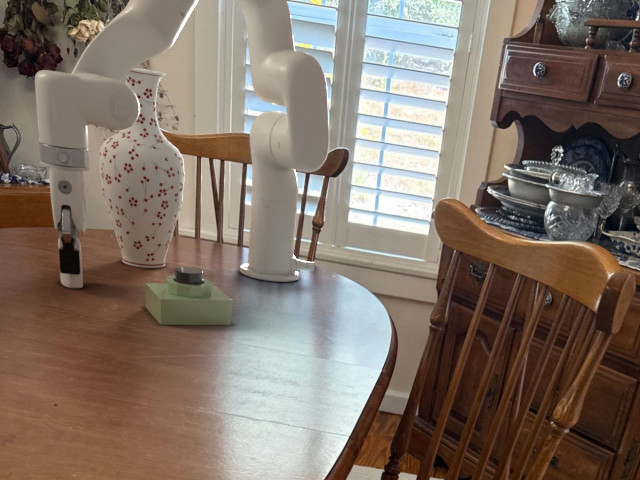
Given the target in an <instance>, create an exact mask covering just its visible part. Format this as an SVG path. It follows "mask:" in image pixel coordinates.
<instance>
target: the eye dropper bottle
mask: <svg viewBox="0 0 640 480" xmlns="http://www.w3.org/2000/svg"><path fill="white" fill-rule="evenodd" d="M62 230H63V227H62ZM71 231H74V228H71ZM73 243H74V242H73ZM57 244H58V245H57V246H58V250H59V249H60V239H59V238H58V239H57ZM77 250H79V258H80V274H79V275H76V274H63V273H61V272H60V271H59V272H60V273H59V275H60V277H59V278H60V284H62V286H63V287H66V288H68V289H82V288H83V287H84V276H83V275H84V272H83V256H82V254H83V253H82V243H81V241H80V238H79V239H78V238H77ZM59 263H60V261H59Z"/></svg>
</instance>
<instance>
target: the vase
mask: <svg viewBox="0 0 640 480" xmlns="http://www.w3.org/2000/svg"><path fill="white" fill-rule="evenodd" d="M165 76H167V73H166V72H163V71H158V70H153V69H147V68H141V67H134V68H133V69H132V70H131V71H130V72H129V73H128V74H127V75H126V76H125V77H124V78H123V79H124V84H126V85H127V86H128V87H130V88H131V89H132V90H133V92H134V93H135V95H136V96H137V99H138V101H139V106H140V113H139V117H138V119H137V121H136V122H135V123H134V124H133V125H132V126H131V127H129V128H127V129H124V130H118V131H117V132H116V133H115V134H112V135H111V136H110V137H108V138H107V139H105V140H104V142H103V143H102V145H101V146H100V148H99V156H98V157H99V159H98V169H99V179H100V185H101V194H102V198H103V201H104V204H105V207H106V211H107V213H108V216H109V219H110V223H111V225H112V229H113V231H114V234H115V238H116V240H117V244H118V247H119V250H120V253H121V258H122V259H121V262H122V263H124V264H125V265H128V266H131V267H136V268H144V269H158V268H163V267H165V266H166V257H167V253H168V250H169V247H170V244H171V241H172V238H173V234H174V232H175V228H176V225H177V222H178V219H179V216H180V212H181V210H182V205H183V201H184V191H185V181H186V180H185V179H186V170H185V160H184V157H183V155H182V153H181V152H180V150H179V148H177V147H176V146H175V145H174V144H173V143H172V142H170V140H168V139H167V137H166V136H165V135H164V134H163V132H162V129H161V127H160V124H159V120H158V116H157V97H158V91H159V85H160V82H161V79H162V78H163V77H165Z"/></svg>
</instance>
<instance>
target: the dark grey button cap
mask: <svg viewBox="0 0 640 480" xmlns="http://www.w3.org/2000/svg"><path fill="white" fill-rule="evenodd" d="M174 271H175V273H174V274H175V281H176V282H179V283H183V284H189V285H199V284H202V278H204V277H203V275H204V273H203V272H204V271H203V270H202V269H199V268H195V267H190V266H178V267H176V268H175V270H174Z"/></svg>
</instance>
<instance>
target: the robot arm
mask: <svg viewBox="0 0 640 480" xmlns="http://www.w3.org/2000/svg"><path fill="white" fill-rule="evenodd" d="M198 1H199V0H129V1H128V2H127V4H126V5H125V7H124V8H123V9H122V11H120V12H119V13H118V14H117V15H116V16H115V17H114V18H113V19H111V21H109V23H108V24H107V25H105V27H103V28H102V29H101V31H100V32H98V33H97V34H96V35H95V36H94V38H93V39H92V40H91V41H90V42H89V43H88V44H87V46H86V47H85V49H84V51H83V52H82V53H81V55H80V57H79V58H78V60H77V62H76V64H75V66H74V68H73V69H72V71H71V73H69V72H65V71H57V70H50V69H42V70H38V71H37V72H36V73H35V76H34V88H35V89H34V91H35V103H36V116H37V129H38V146H39V160H40V165H41V166H42V167H46V168H48V179H49V191H50V192H49V194H50V205H51V213H52V220H53V226H54V229H55V231H57V232H58V234H59V235H58V236H59V237H58V239H60V249H59V248H58V260H59V261H60V262H59V272H61V273H63V274H76V275H79V274H80V258H79V250H77V238H78V239H79V240H80V236H79V234H80V233H79V232H81V234H82V235H83V234H85V233H86V232H87V207H86V188H85V177H84V172H87V171H88V172H89V171H90V153H89V152H90V150H89V128H88V127H89V125H90V126H96V127H101V128H103V129H108V130H111V131H112V130H113V131H120V130H124V129H127V128H129V127H131V126H132V125H133V124H134V123H135V122H136V121H137V119H138V117H139V113H140V106H139V101H138V99H137V96H136V95H135V93H134V92H133V90H132V89H131V88H130V87H128V86H127V85H126V84H125V82H122V81H123V79H124V77H125V76H126V75H127V74H128V73H129V72H130V71H131V70H132V69H133V68H134V67H135V68H137V66H138V65H140V64H142V63H144V62H146V61H148V60H151V59H153V58H156V57H158V56H160V55H162V54H164V53H165V52H166V51H169V50H170V49H171V48H172V47H173V45H174V44H175V42H176V40H177V38H178V37H179V35H180V33H181V31H182V29H183V28H184V26H185V24H186V22H187V21H188V19H189V18H190V15H191V13H192V12H193V11H194V8H195V7H196V5H197V3H198ZM235 1H236V2H237V4H238V6H239V8H240V10H241V13H242V15H243V18H244V23H245V29H246V36H247V37H246V38H247V46H248V47H247V48H248V57H249V58H248V59H249V65H250V66H249V69H250V78H251V84H252V89H253V91H254V93H255V95H256V96H257V97H258V98H259V99H260V100H261V101H263V102H265V103H268V104H271V105H275V106H279V107H283V108H285V110H286V112H283V111H280V110H279V111H278V110H268V111H265V112H261V113H260V114H259V115H257V116H256V117H255V119H254V120H253V122H252V124H251V127H250V130H249V149H250V157H251V170H252V172H251V173H252V179H251V180H252V181H251V197H250V199H251V200H250V215H249V216H250V218H249V236H248V237H249V238H248V253H247V255H248V257H247V262H246V263H242V264H241V265H240V266H239V267H240V268H239V271H240V273H241V274H243V275H245V276H247V277H249V278H253V279H256V280H260V281H261V280H262V281H268V282H277V283H278V282H279V283H288V282H295V281H297V280H299V277H300V273H299V272H300V271H307V272H314V271H315V261H307V260H305V259H299V258H297V257H296V256H295V255H294V250H295V240H296V239H295V237H296V226H297V214H298V204H299V203H298V202H299V182H298V176H297V172H296V171H298V172H301V173H302V172H303V173H314V172H316V171H318V170H320V169H321V168H322V167H323V165H324V164H325V162H326V161H327V158H328V155H329V150H330V121H329V120H330V118H329V95H328V93H329V91H328V85H327V78H326V75H325V71H324V69H323V67H322V64H321V63H320V61H318V59H317V58H316V57H315V56H313V54H310V53H308V52H306V51H302V50H296V48H295V42H294V41H295V40H294V33H293V22H292V14H291V10H290V7H289V3H288V1H287V0H235ZM62 227H63V230H62ZM71 228H74V231H71ZM73 242H74V243H73Z"/></svg>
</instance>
